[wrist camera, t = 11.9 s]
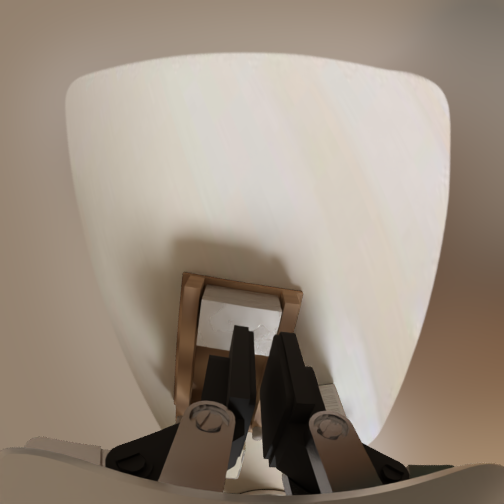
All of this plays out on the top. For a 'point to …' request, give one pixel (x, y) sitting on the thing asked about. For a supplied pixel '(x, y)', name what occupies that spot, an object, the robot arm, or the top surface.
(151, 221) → the top surface
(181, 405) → the holder
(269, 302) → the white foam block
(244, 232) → the top surface
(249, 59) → the top surface
